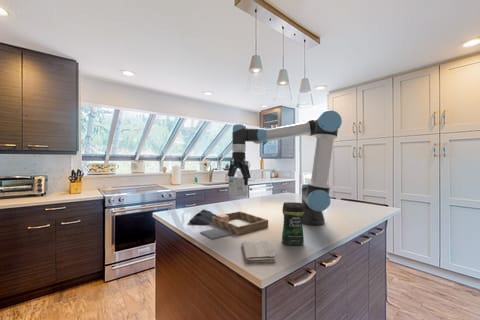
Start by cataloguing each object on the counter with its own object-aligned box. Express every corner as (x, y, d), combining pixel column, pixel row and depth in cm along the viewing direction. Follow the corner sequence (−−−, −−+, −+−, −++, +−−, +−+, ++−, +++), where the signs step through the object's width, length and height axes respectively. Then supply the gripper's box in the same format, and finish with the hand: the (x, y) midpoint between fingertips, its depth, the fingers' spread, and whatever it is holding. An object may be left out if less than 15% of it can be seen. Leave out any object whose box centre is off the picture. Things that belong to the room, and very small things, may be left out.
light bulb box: (248, 194, 128) (248, 176, 128) (247, 196, 121) (247, 177, 121) (230, 194, 129) (230, 176, 129) (228, 196, 122) (228, 177, 122)
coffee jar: (283, 246, 96) (283, 204, 96) (280, 239, 104) (280, 200, 104) (305, 246, 96) (305, 204, 96) (301, 239, 104) (301, 200, 103)
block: (228, 224, 128) (228, 215, 128) (221, 225, 125) (221, 217, 125) (224, 222, 132) (224, 214, 132) (217, 223, 129) (217, 215, 129)
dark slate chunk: (184, 225, 128) (184, 217, 128) (196, 215, 149) (196, 208, 149) (210, 226, 126) (210, 218, 126) (218, 216, 147) (218, 209, 147)
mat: (232, 234, 111) (232, 233, 111) (212, 239, 103) (212, 238, 103) (219, 228, 120) (219, 227, 120) (200, 233, 113) (200, 231, 113)
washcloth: (246, 265, 79) (246, 257, 79) (241, 246, 97) (241, 239, 97) (277, 264, 80) (277, 256, 80) (267, 245, 98) (267, 238, 98)
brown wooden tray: (268, 227, 123) (268, 219, 123) (238, 235, 109) (238, 227, 109) (240, 217, 143) (240, 211, 143) (211, 223, 129) (211, 216, 129)
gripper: (222, 152, 132) (221, 187, 132) (246, 151, 113) (246, 192, 113) (232, 152, 137) (231, 186, 137) (257, 151, 118) (256, 191, 118)
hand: (238, 189), depth 125 cm, fingers closed on light bulb box, 12 cm apart
